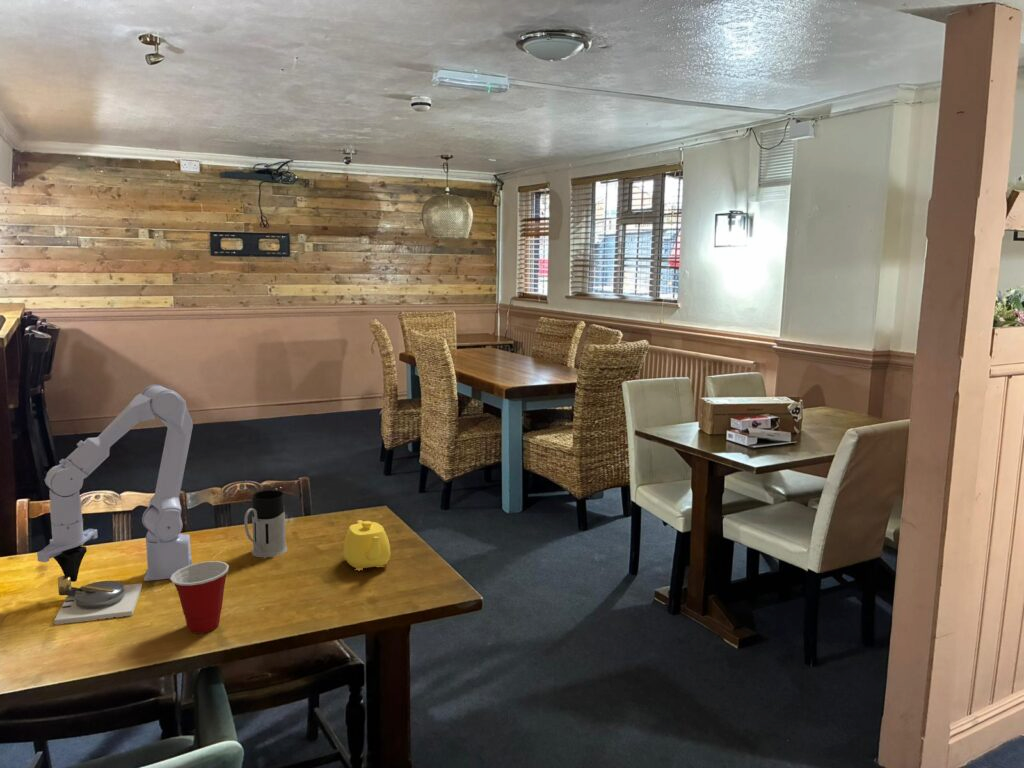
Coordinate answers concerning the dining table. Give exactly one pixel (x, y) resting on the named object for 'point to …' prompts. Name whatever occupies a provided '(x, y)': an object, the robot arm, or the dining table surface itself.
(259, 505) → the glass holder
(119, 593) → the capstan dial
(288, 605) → the dining table surface
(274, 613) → the dining table surface
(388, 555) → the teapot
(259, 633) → the dining table surface
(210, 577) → the plastic cup
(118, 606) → the white square board
